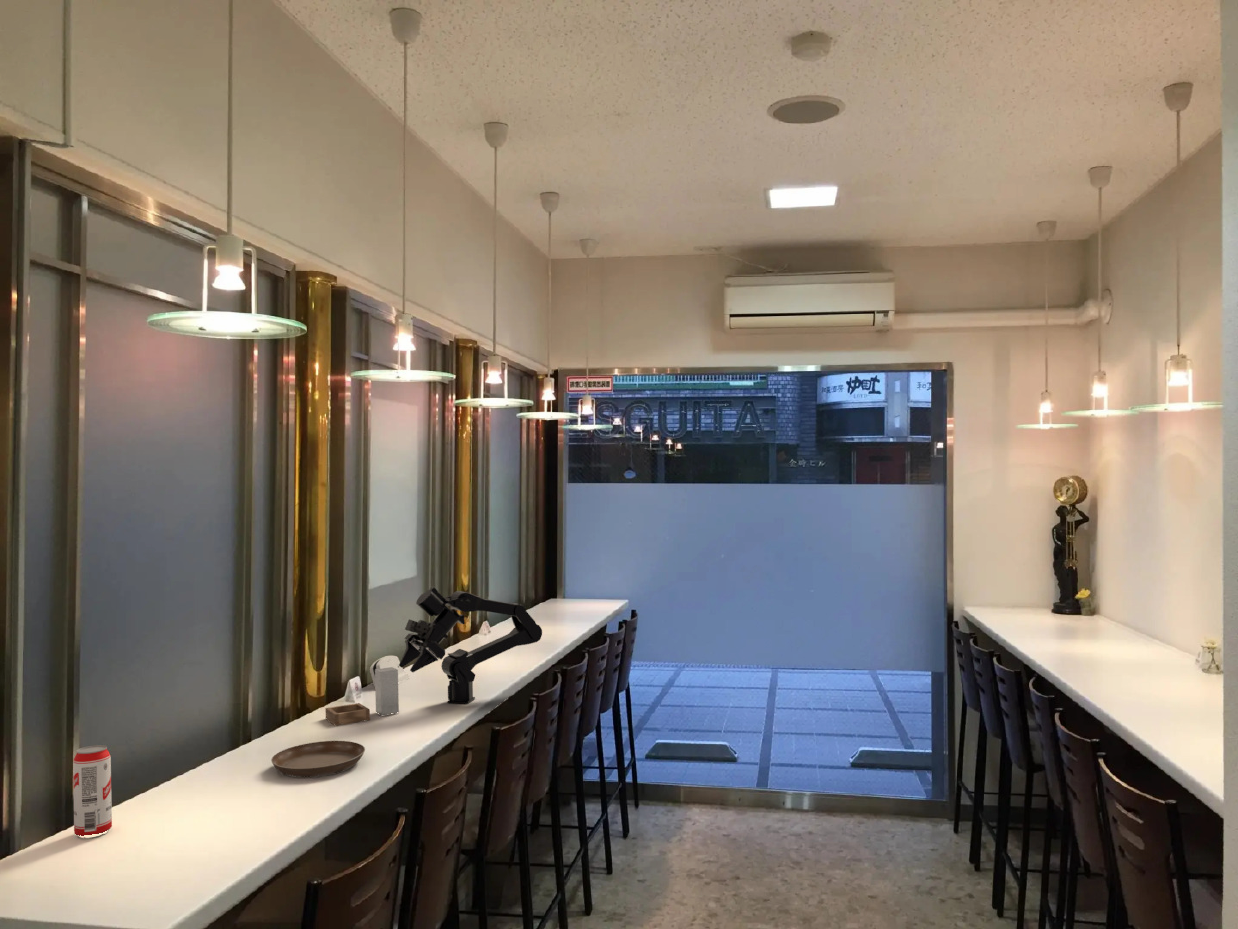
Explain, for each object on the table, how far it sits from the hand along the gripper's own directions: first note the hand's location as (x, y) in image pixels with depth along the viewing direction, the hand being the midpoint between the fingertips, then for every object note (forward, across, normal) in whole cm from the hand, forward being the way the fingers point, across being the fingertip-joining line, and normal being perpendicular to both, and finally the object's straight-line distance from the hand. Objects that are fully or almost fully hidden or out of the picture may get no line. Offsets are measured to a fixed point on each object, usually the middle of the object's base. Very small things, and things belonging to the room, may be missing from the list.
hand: (405, 669), depth 269 cm
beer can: (+67, +56, -50) cm, 100 cm away
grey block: (+12, 0, +4) cm, 13 cm away
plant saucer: (+34, +40, -16) cm, 55 cm away
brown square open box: (+20, 0, -4) cm, 21 cm away
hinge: (+3, -40, +15) cm, 42 cm away
